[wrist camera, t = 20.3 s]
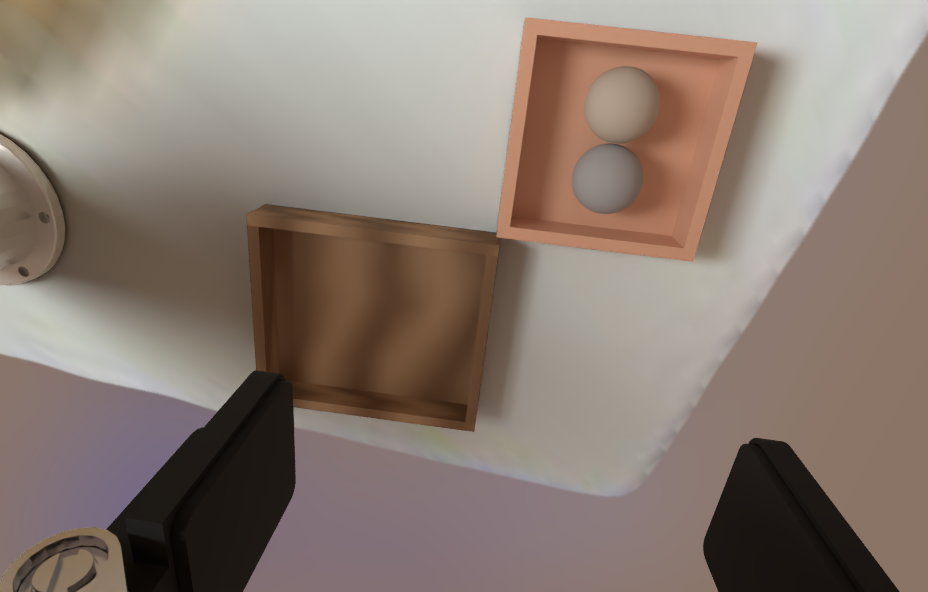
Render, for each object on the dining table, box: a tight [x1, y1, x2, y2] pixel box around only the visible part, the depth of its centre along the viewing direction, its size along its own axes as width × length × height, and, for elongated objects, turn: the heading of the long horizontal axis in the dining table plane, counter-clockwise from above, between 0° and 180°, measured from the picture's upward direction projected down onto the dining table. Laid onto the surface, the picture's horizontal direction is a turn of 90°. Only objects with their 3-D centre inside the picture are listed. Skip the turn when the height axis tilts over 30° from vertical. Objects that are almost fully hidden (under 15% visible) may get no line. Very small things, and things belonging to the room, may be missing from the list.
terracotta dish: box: [496, 18, 757, 261], centre depth 33 cm, size 13×13×4 cm
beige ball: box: [584, 66, 660, 144], centre depth 32 cm, size 4×4×4 cm
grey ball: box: [572, 143, 643, 214], centre depth 33 cm, size 4×4×4 cm
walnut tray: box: [247, 204, 500, 432], centre depth 40 cm, size 18×16×3 cm
